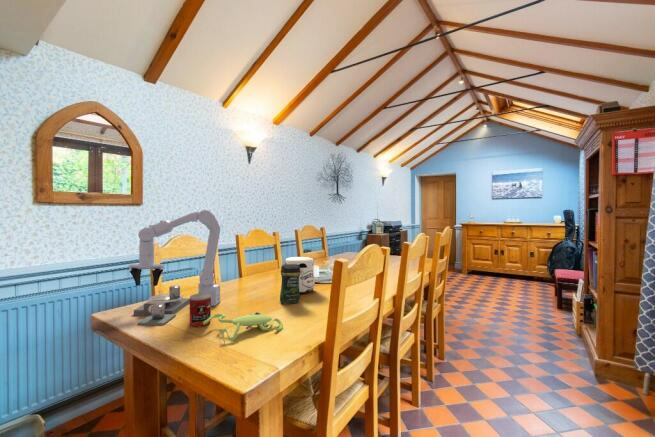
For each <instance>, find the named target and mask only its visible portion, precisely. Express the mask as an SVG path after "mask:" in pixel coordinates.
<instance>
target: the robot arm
mask: <svg viewBox="0 0 655 437" xmlns="http://www.w3.org/2000/svg"><path fill="white" fill-rule="evenodd" d="M198 221H199V223H201V224H203V225H204V226H205V227H206V228H207V230H208V231H209V234H208V239H207V245H206V250H205V256H204V262H203V265H202V269H201V271H200V273H199V283H198V285H197V286H198V289H197V290H198V291H197V292H198V293H197V294H199V293H207V294H210V295H211V307H215V306H217V305H218V304H219V303H220V302H221V287H220V284H216V283H215V276H214V268H215V260H216V256H217V251H218V250H217V249H218V245H219V239H220V235H221V234H220V233H221V227H220V225H219V222H218V220H217V218H216V216H215V215H214V214H213V213H212V211H210V210H208V209H203V210H201V211H195V212H190V213H188V214H186V215H182V216H180V217H178V218H175V219H174V220H171V221H170V220H168V219H165V220H164V219H161V220H160V221H159V222H157V223H155V224H149V225H148V227H143V228H141V229H140V230H139V231H138V238H139V246H138V247H139V248H138V250H139V251H138V260H139V262H138V263H135V264H134V263H132V264H129V265H128V270H129V273H130V274H131V276H132V278H133V280H134V284H135V286H136V287H139V286H141V275H142V271H143V270H151V273H152V278H153V279H152V280H153V282H152V284H153V287H156V286H158V284H159V280H160V277H161V275H162V274H163V272H164V270H165V264H158V263H155V243H154V242H155V240H154V238H160V237H162V236H164V235H166V234H167V235H168V233H172V232H173V229H174V228H177V227H179V226H182V225H185V224H187V223H190V222H191V223H194V222H195V223H198Z"/></svg>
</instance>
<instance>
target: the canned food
mask: <svg viewBox="0 0 655 437" xmlns="http://www.w3.org/2000/svg"><path fill="white" fill-rule="evenodd" d="M189 298H190V303H189V326H191V327H193V328H203V327H206V326H208V325H209V324H211V321H212V319H211V320H210V321H209V322H208V323H206V324H203V322H204V321H205V320H207V319H208V318H210V317H211V316H212V314H211V311H212V310H211V308H212V306H211V295H210V294H207V293H199V294H198V293H194V294H192V295H190V296H189Z"/></svg>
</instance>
